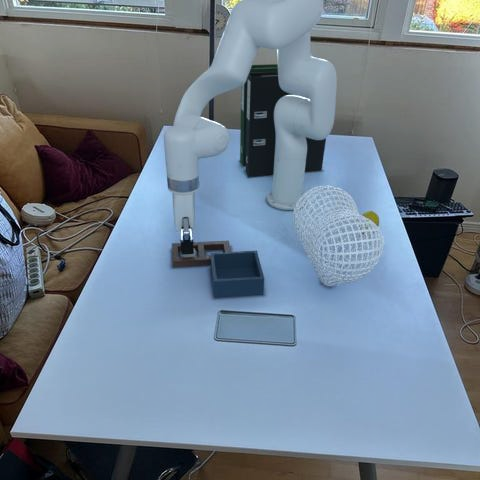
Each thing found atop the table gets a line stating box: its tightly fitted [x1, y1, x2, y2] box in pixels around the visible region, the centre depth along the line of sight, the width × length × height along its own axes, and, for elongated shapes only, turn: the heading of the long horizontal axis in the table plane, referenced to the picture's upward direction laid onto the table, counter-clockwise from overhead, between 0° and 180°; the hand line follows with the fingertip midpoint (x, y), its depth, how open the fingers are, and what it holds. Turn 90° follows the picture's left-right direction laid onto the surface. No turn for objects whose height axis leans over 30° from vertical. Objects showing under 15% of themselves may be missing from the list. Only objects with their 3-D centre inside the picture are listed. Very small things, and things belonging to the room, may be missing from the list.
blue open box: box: [209, 250, 265, 299], centre depth 116 cm, size 12×12×5 cm
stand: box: [171, 240, 232, 269], centre depth 125 cm, size 9×16×2 cm, turn 97°
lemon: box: [360, 210, 380, 237], centre depth 133 cm, size 6×6×8 cm
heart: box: [292, 185, 385, 287], centre depth 111 cm, size 28×16×22 cm, turn 14°
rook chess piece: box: [179, 232, 198, 258], centre depth 123 cm, size 4×4×8 cm
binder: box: [239, 63, 327, 178], centre depth 159 cm, size 27×15×32 cm, turn 102°
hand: (186, 243), depth 122 cm, fingers open, 9 cm apart
